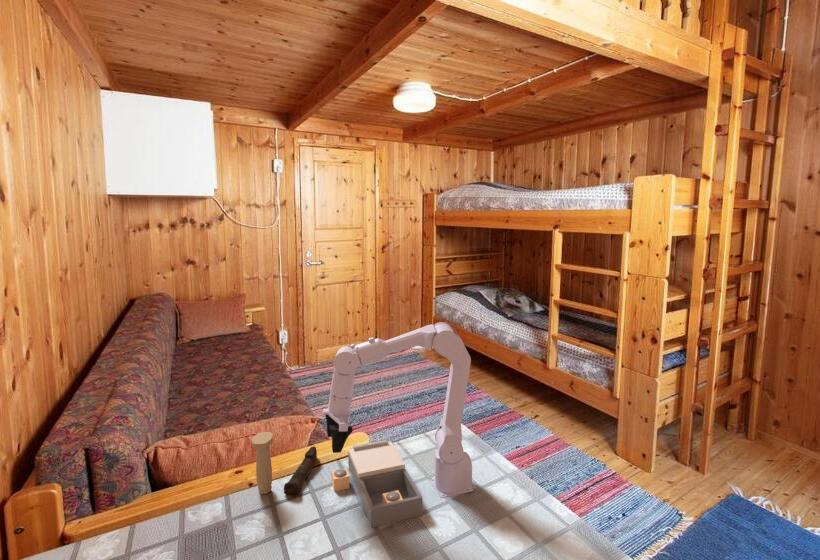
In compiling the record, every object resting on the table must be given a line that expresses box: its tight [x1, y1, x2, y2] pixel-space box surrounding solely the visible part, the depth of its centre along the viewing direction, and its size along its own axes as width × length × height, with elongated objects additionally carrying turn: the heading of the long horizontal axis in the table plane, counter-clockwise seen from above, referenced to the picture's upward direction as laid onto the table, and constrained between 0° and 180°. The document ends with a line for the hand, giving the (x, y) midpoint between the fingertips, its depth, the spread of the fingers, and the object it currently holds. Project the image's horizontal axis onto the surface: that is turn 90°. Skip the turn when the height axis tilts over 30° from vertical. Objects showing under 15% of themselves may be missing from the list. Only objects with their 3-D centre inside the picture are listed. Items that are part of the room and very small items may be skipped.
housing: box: [347, 452, 423, 529], centre depth 112 cm, size 13×26×5 cm, turn 20°
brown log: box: [283, 445, 318, 497], centre depth 119 cm, size 19×4×5 cm, turn 170°
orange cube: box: [330, 467, 350, 492], centre depth 114 cm, size 4×4×4 cm
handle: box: [251, 431, 274, 495], centre depth 111 cm, size 5×6×15 cm
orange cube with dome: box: [383, 490, 403, 504], centre depth 103 cm, size 4×4×4 cm
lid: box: [348, 439, 406, 478], centre depth 117 cm, size 13×13×2 cm
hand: (334, 443), depth 110 cm, fingers open, 7 cm apart
